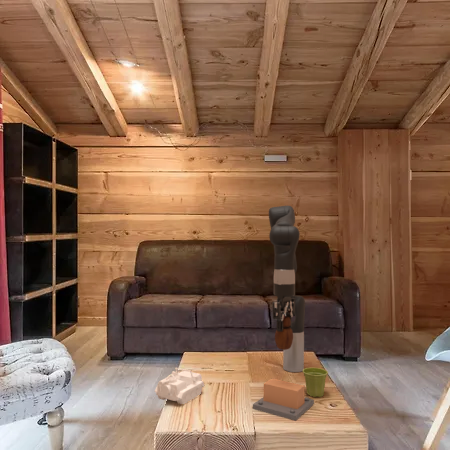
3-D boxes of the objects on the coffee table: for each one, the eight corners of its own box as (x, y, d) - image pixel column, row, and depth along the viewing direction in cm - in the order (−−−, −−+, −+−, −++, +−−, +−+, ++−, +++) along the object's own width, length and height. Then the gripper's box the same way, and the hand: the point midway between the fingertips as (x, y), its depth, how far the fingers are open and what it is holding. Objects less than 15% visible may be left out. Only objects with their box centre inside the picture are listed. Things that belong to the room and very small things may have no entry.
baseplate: (273, 394, 150) (273, 388, 151) (313, 404, 142) (313, 397, 142) (252, 408, 137) (252, 401, 137) (295, 420, 128) (295, 413, 128)
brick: (271, 394, 146) (271, 378, 146) (304, 403, 139) (304, 385, 139) (263, 400, 140) (263, 383, 141) (297, 409, 133) (297, 391, 134)
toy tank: (205, 393, 151) (206, 367, 152) (173, 412, 134) (174, 382, 134) (180, 387, 157) (180, 362, 158) (146, 404, 140) (147, 376, 140)
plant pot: (297, 394, 150) (298, 371, 151) (309, 387, 157) (309, 365, 158) (320, 401, 144) (320, 377, 144) (332, 394, 151) (332, 370, 152)
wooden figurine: (287, 352, 136) (288, 308, 137) (272, 349, 139) (272, 306, 140) (295, 347, 142) (295, 305, 142) (280, 345, 145) (280, 303, 145)
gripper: (283, 279, 149) (283, 324, 149) (265, 283, 137) (265, 331, 137) (302, 281, 145) (302, 327, 145) (285, 284, 133) (285, 334, 133)
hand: (284, 329), depth 141 cm, fingers closed on wooden figurine, 6 cm apart
